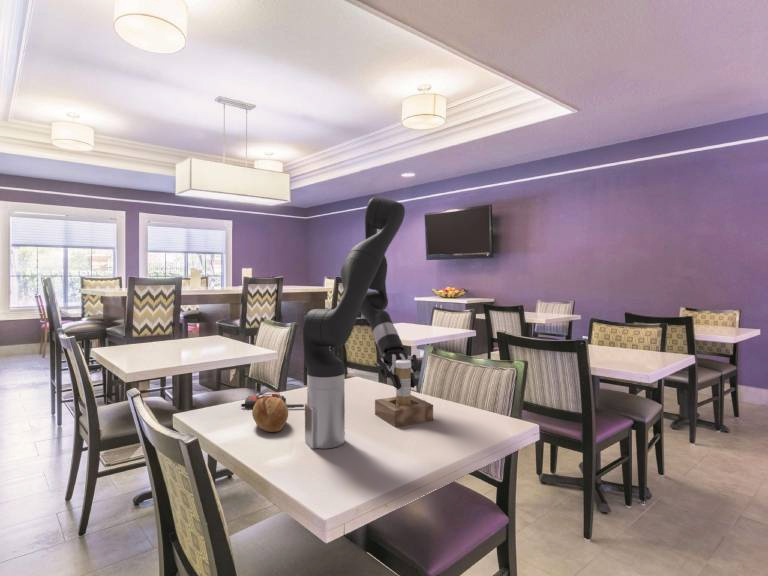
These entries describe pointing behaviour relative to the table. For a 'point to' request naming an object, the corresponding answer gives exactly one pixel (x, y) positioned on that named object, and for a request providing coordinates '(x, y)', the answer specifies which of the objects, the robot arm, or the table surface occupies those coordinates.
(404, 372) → the sprinkles bottle
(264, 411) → the bread roll
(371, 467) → the table surface
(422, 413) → the walnut bottle stand
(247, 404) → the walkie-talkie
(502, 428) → the table surface
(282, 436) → the table surface
